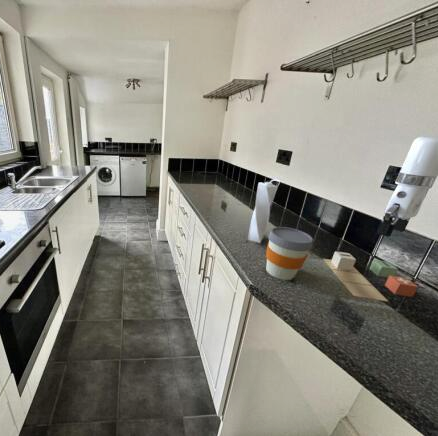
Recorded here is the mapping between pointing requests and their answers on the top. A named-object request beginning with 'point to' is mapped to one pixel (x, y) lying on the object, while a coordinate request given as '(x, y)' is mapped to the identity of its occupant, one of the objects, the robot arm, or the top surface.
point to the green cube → (383, 268)
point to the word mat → (356, 283)
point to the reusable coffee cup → (287, 252)
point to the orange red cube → (401, 286)
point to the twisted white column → (262, 210)
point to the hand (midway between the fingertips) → (390, 232)
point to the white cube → (343, 260)
